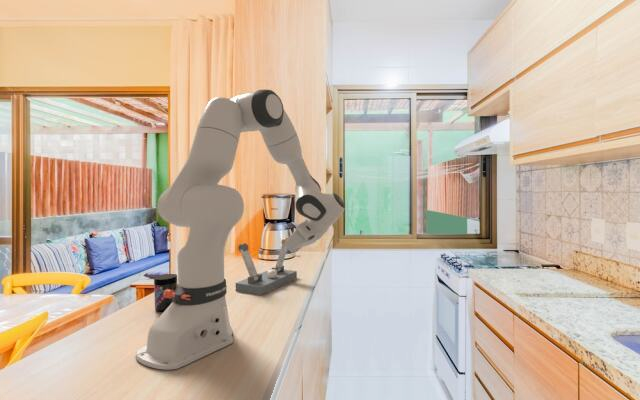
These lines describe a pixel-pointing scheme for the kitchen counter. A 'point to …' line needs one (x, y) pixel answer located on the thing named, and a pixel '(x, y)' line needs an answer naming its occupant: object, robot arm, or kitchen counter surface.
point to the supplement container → (160, 286)
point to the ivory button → (272, 273)
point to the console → (265, 282)
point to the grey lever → (248, 261)
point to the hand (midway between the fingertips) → (292, 251)
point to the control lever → (281, 255)
